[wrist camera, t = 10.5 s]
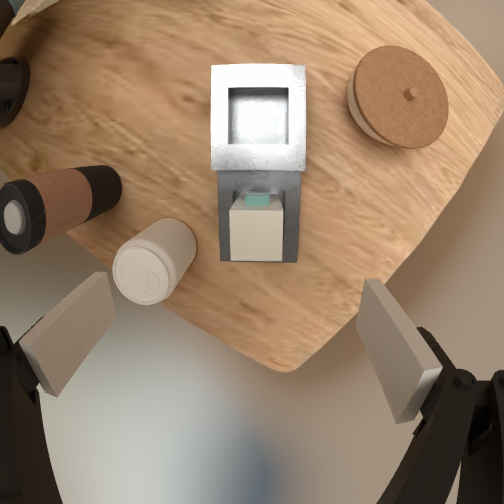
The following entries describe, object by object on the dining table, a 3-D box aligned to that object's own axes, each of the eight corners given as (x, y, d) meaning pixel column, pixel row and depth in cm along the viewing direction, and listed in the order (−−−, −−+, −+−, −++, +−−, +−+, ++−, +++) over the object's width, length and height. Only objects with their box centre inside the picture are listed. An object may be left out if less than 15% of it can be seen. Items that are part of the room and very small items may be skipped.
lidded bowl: (370, 164, 36) (406, 170, 25) (317, 90, 33) (336, 67, 22) (429, 122, 33) (473, 118, 22) (381, 52, 30) (415, 26, 19)
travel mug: (117, 218, 40) (31, 267, 21) (80, 203, 40) (-9, 242, 21) (128, 170, 38) (34, 192, 19) (90, 158, 37) (-7, 175, 18)
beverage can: (154, 209, 39) (115, 231, 28) (205, 229, 40) (181, 259, 29) (141, 256, 42) (104, 291, 31) (188, 276, 43) (163, 319, 31)
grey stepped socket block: (224, 251, 41) (215, 273, 33) (222, 82, 33) (211, 65, 25) (294, 252, 41) (300, 275, 33) (297, 82, 32) (305, 65, 25)
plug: (240, 230, 38) (230, 260, 28) (239, 186, 36) (229, 199, 26) (277, 230, 38) (281, 261, 28) (278, 186, 36) (283, 200, 26)
